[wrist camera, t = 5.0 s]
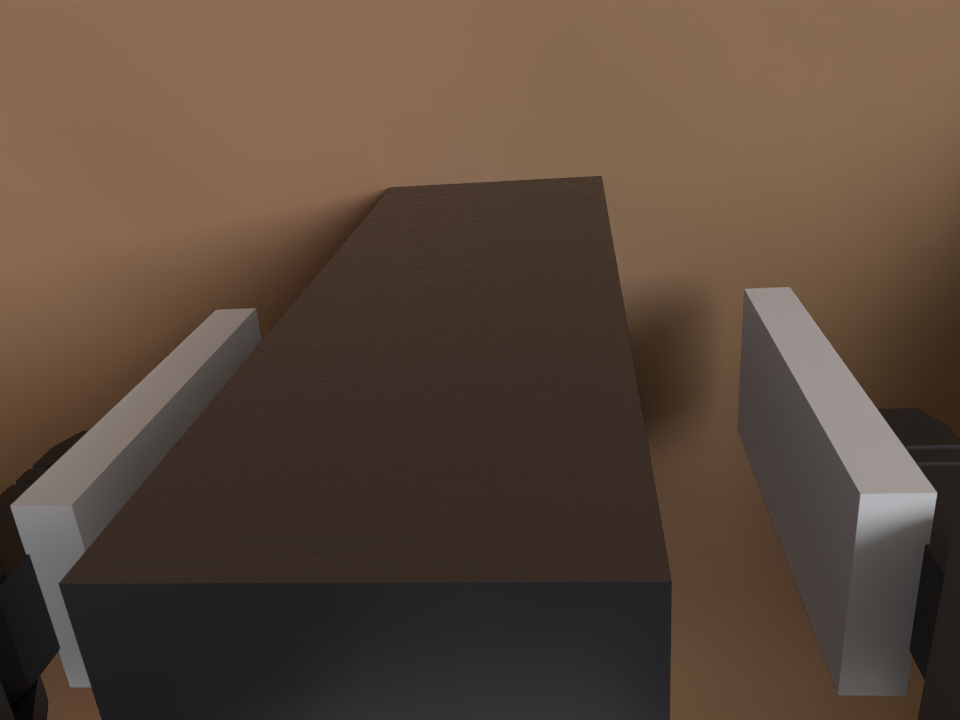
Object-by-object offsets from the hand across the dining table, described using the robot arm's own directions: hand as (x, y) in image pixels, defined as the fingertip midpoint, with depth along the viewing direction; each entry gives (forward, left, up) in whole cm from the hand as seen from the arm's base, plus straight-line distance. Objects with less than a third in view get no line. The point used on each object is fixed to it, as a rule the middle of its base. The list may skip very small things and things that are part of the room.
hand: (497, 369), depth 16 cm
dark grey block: (0, 0, -2) cm, 2 cm away
